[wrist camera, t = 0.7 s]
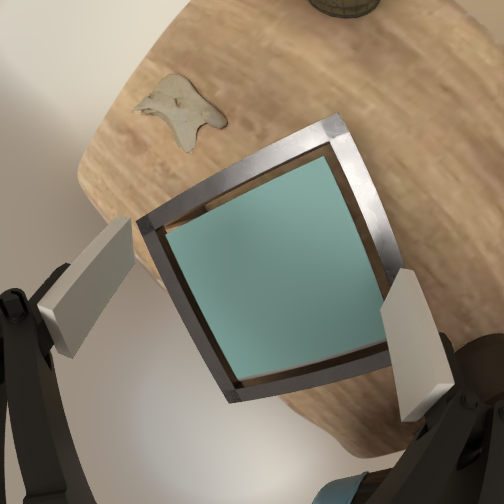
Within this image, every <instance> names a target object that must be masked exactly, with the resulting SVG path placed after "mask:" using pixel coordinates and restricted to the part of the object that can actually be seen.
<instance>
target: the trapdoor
mask: <svg viewBox="0 0 504 504" xmlns="http://www.w3.org/2000/svg"><path fill="white" fill-rule="evenodd" d="M166 238H167V240H168V242H169V244H170V246H171V249H172V251H173V253H174V255H175V257H176V259H177V262H178V264H179V266H180V268H181V270H182V272H183V274H184V276H185V278H186V280H187V283H188V285H189V287H190V289H191V291H192V293H193V295H194V297H195V299H196V301H197V303H198V305H199V307H200V309H201V311H202V313H203V315H204V317H205V319H206V321H207V323H208V325H209V327H210V329H211V330H212V332H213V334H214V336H215V338H216V340H217V342H218V344H219V346H220V348H221V350H222V351H223V353H224V355H225V357H226V359H227V361H228V363H229V364H230V366H231V368H232V370H233V372H234V374H235V375H236V377H237V379H238V380H239V381H242V380H247V379H252V378H257V377H261V376H266V375H270V374H274V373H279V372H283V371H287V370H291V369H295V368H299V367H303V366H307V365H310V364H314V363H318V362H321V361H325V360H328V359H332V358H335V357H339V356H342V355H345V354H349V353H352V352H355V351H358V350H361V349H365V348H368V347H371V346H374V345H377V344H380V343H383V342H386V341H387V338H386V333H385V329H384V324H383V320H382V316H381V312H380V309H381V307H382V305H383V303H384V299H383V296H382V293H381V290H380V288H379V285H378V282H377V279H376V277H375V274H374V271H373V268H372V266H371V263H370V260H369V258H368V255H367V253H366V250H365V247H364V245H363V242H362V240H361V237H360V235H359V232H358V230H357V227H356V225H355V223H354V220H353V218H352V215H351V213H350V211H349V208H348V206H347V204H346V201H345V199H344V197H343V195H342V192H341V190H340V188H339V186H338V183H337V181H336V179H335V177H334V175H333V173H332V170H331V168H330V166H329V164H328V162H327V160H326V158H325V156H322V157H320V158H318V159H316V160H314V161H311V162H309V163H307V164H305V165H303V166H301V167H299V168H296V169H294V170H292V171H290V172H288V173H286V174H284V175H282V176H279V177H277V178H275V179H273V180H271V181H269V182H267V183H265V184H263V185H261V186H259V187H257V188H255V189H253V190H251V191H249V192H247V193H245V194H243V195H241V196H239V197H237V198H235V199H233V200H231V201H229V202H227V203H225V204H223V205H221V206H219V207H217V208H215V209H213V210H211V211H209V212H207V213H205V214H203V215H201V216H200V217H198V218H196V219H194V220H192V221H190V222H188V223H186V224H184V225H183V226H181V227H179V228H177V229H175V230H173V231H171V232H169V233H168V234H166Z"/></svg>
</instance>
